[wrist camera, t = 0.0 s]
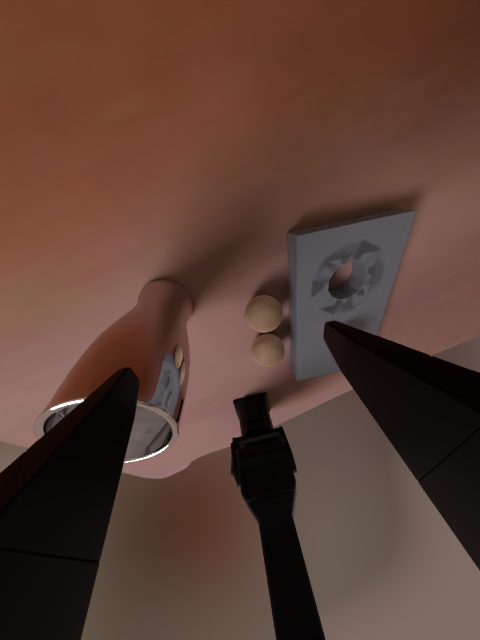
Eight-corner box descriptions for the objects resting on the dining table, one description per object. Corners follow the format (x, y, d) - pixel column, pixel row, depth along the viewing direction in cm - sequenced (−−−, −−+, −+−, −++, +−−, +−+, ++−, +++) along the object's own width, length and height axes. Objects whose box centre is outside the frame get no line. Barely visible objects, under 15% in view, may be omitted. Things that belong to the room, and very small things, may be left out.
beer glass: (168, 262, 20) (97, 371, 7) (208, 308, 23) (207, 434, 11) (121, 297, 21) (-10, 440, 8) (166, 335, 24) (121, 475, 12)
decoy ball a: (279, 347, 29) (289, 369, 25) (251, 354, 28) (257, 377, 25) (277, 324, 26) (289, 344, 22) (246, 331, 26) (253, 353, 22)
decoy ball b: (277, 315, 25) (289, 335, 21) (245, 322, 25) (251, 343, 21) (274, 285, 23) (287, 301, 19) (239, 293, 23) (245, 311, 19)
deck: (357, 354, 32) (367, 364, 30) (290, 369, 32) (296, 381, 30) (394, 209, 20) (416, 210, 18) (287, 232, 20) (296, 236, 18)
